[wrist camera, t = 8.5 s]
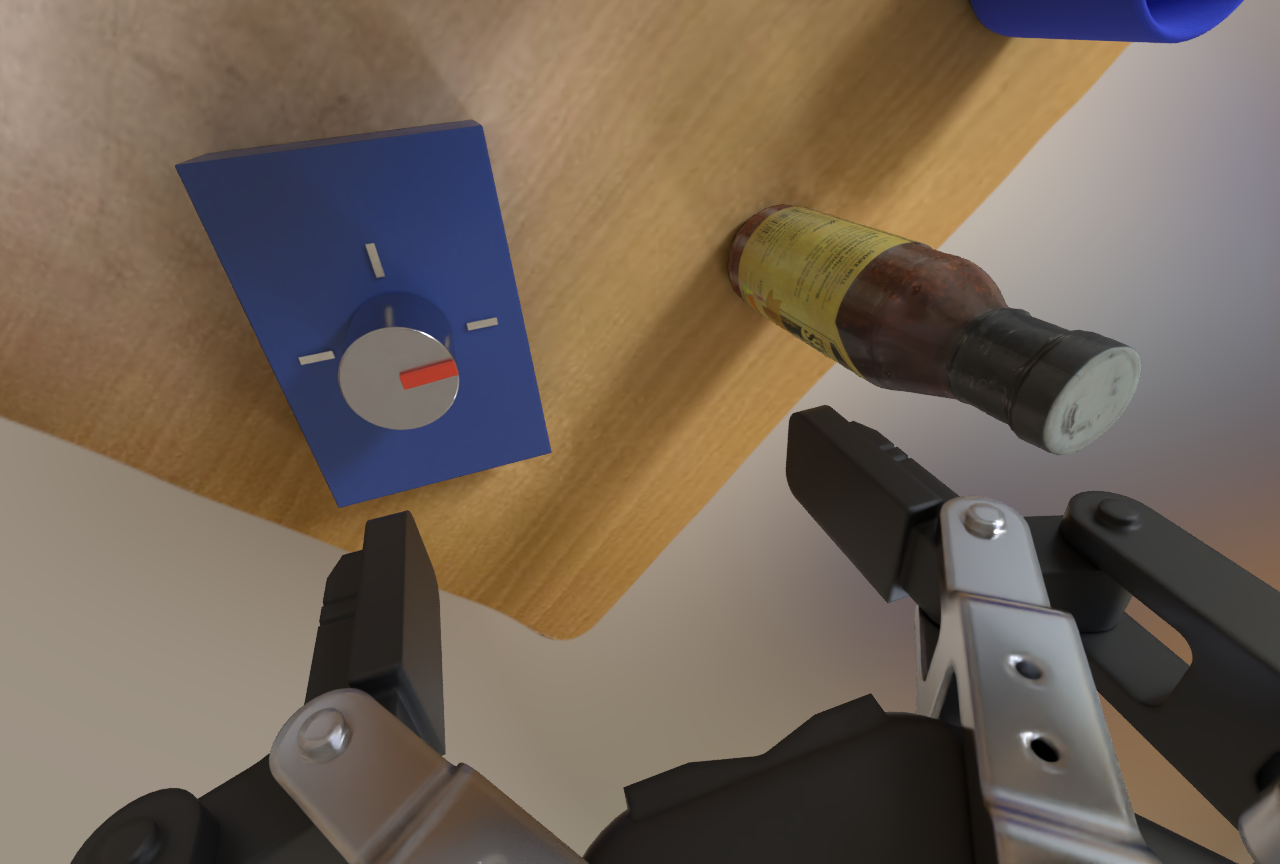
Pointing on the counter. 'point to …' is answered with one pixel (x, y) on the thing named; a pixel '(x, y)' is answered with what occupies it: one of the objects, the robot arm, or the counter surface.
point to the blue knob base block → (377, 290)
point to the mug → (1104, 18)
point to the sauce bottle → (929, 325)
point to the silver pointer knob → (399, 362)
